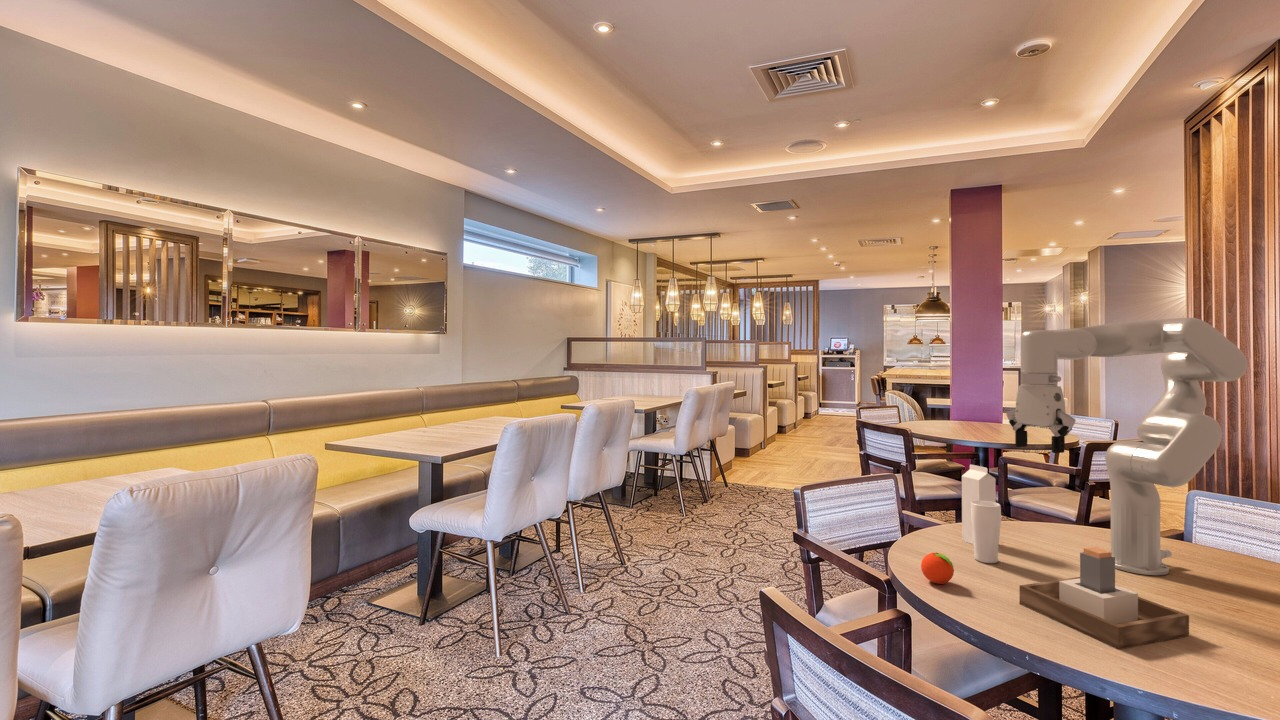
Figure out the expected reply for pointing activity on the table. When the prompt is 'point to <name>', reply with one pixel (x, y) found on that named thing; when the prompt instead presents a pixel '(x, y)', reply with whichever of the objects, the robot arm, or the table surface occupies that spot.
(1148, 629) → the crate
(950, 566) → the clementine
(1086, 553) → the plug
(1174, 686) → the table surface
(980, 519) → the drinking glass
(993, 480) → the milk
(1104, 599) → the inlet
